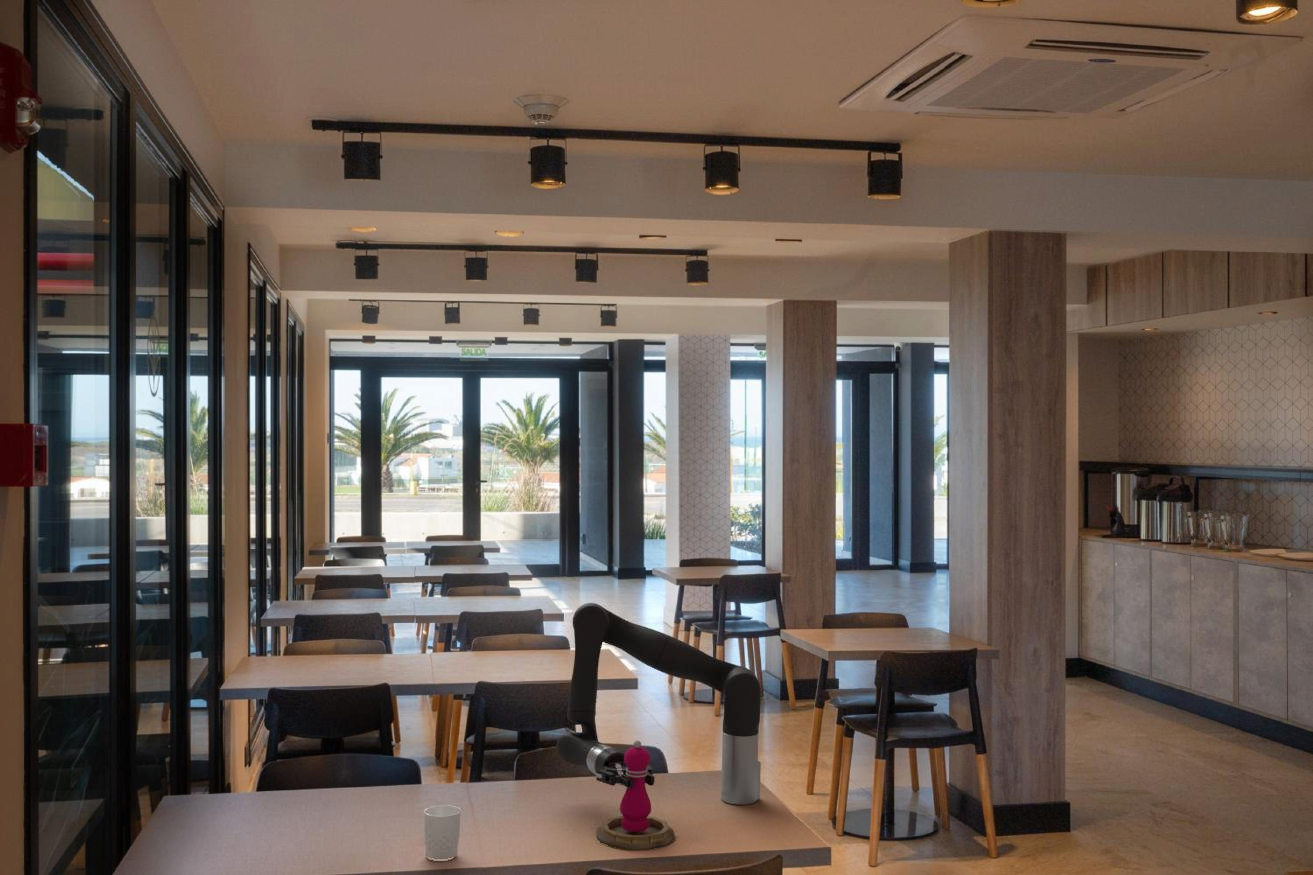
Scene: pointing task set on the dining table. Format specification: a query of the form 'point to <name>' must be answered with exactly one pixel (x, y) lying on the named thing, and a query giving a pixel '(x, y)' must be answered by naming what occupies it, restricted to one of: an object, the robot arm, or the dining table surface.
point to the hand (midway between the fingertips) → (642, 782)
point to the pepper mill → (636, 790)
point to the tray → (635, 846)
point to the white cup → (442, 831)
